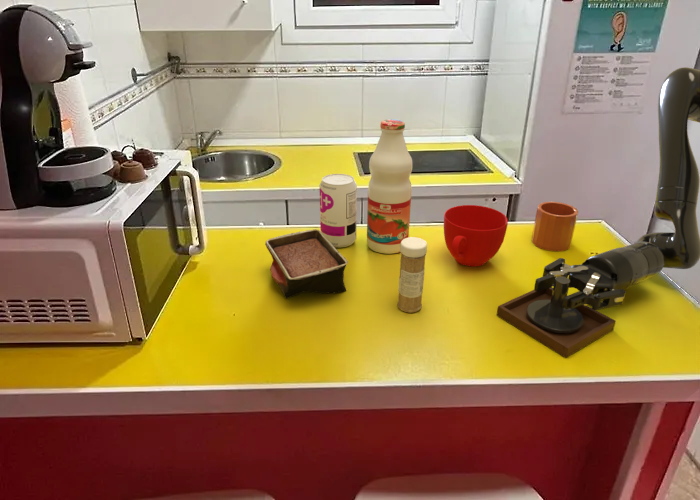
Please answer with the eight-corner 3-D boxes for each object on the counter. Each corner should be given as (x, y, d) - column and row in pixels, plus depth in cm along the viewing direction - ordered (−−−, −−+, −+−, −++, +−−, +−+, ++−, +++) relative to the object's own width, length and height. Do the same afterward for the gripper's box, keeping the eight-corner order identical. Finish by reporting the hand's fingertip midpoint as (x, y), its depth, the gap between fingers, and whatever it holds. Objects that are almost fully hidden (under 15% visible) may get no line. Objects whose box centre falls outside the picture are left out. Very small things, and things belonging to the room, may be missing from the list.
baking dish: (279, 318, 96) (282, 275, 90) (261, 261, 109) (263, 221, 103) (353, 309, 100) (360, 268, 95) (326, 255, 114) (331, 216, 108)
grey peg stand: (593, 324, 90) (604, 283, 87) (559, 342, 86) (570, 301, 82) (548, 299, 97) (556, 261, 93) (514, 315, 93) (522, 275, 89)
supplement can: (328, 251, 115) (327, 187, 108) (315, 236, 121) (313, 175, 114) (362, 245, 118) (363, 182, 111) (347, 230, 124) (347, 170, 117)
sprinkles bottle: (404, 297, 99) (408, 233, 92) (426, 305, 96) (432, 240, 90) (392, 308, 95) (395, 243, 89) (414, 316, 93) (419, 250, 87)
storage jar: (577, 245, 118) (585, 210, 114) (554, 254, 114) (562, 219, 110) (546, 231, 124) (553, 198, 120) (523, 240, 120) (530, 206, 116)
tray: (613, 330, 90) (616, 320, 89) (565, 358, 83) (568, 348, 82) (543, 292, 100) (545, 284, 99) (496, 315, 93) (497, 306, 93)
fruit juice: (412, 239, 120) (420, 118, 107) (401, 258, 112) (409, 129, 99) (373, 233, 123) (377, 114, 110) (360, 250, 115) (363, 125, 102)
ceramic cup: (421, 270, 108) (425, 227, 103) (454, 240, 120) (459, 200, 115) (481, 289, 101) (487, 243, 97) (509, 255, 114) (516, 213, 109)
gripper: (586, 236, 99) (521, 257, 91) (658, 269, 88) (591, 296, 80) (578, 271, 102) (515, 293, 95) (646, 306, 91) (581, 335, 84)
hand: (550, 294), depth 87 cm, fingers open, 5 cm apart
